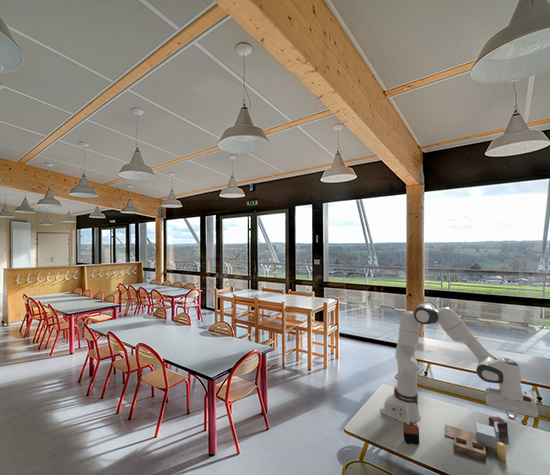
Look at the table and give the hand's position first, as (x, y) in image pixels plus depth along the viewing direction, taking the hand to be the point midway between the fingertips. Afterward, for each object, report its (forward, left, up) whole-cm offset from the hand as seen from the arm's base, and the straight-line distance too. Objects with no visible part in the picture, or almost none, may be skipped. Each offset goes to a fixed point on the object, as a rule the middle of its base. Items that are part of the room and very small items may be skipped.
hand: (511, 419), depth 143 cm
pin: (-5, -9, -16) cm, 19 cm away
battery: (-44, -19, -16) cm, 51 cm away
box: (-4, +13, -16) cm, 21 cm away
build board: (-18, -10, -16) cm, 26 cm away
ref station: (-17, 0, -16) cm, 24 cm away
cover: (-10, 0, -15) cm, 18 cm away
